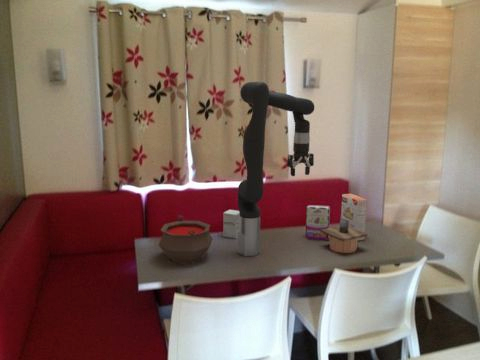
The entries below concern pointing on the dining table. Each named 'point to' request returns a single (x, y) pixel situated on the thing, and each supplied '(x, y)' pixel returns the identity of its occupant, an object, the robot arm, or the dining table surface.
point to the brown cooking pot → (185, 240)
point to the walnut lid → (343, 231)
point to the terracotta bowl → (343, 245)
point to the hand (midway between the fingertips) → (300, 175)
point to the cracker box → (354, 212)
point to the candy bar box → (317, 221)
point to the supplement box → (231, 223)
